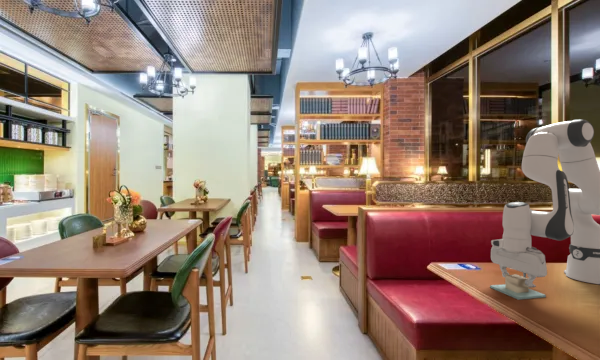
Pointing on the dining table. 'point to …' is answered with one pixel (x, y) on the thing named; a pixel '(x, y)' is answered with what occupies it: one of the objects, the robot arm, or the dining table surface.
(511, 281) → the cube
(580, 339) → the dining table surface
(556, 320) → the dining table surface
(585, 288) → the dining table surface
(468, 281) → the dining table surface
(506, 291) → the pad
